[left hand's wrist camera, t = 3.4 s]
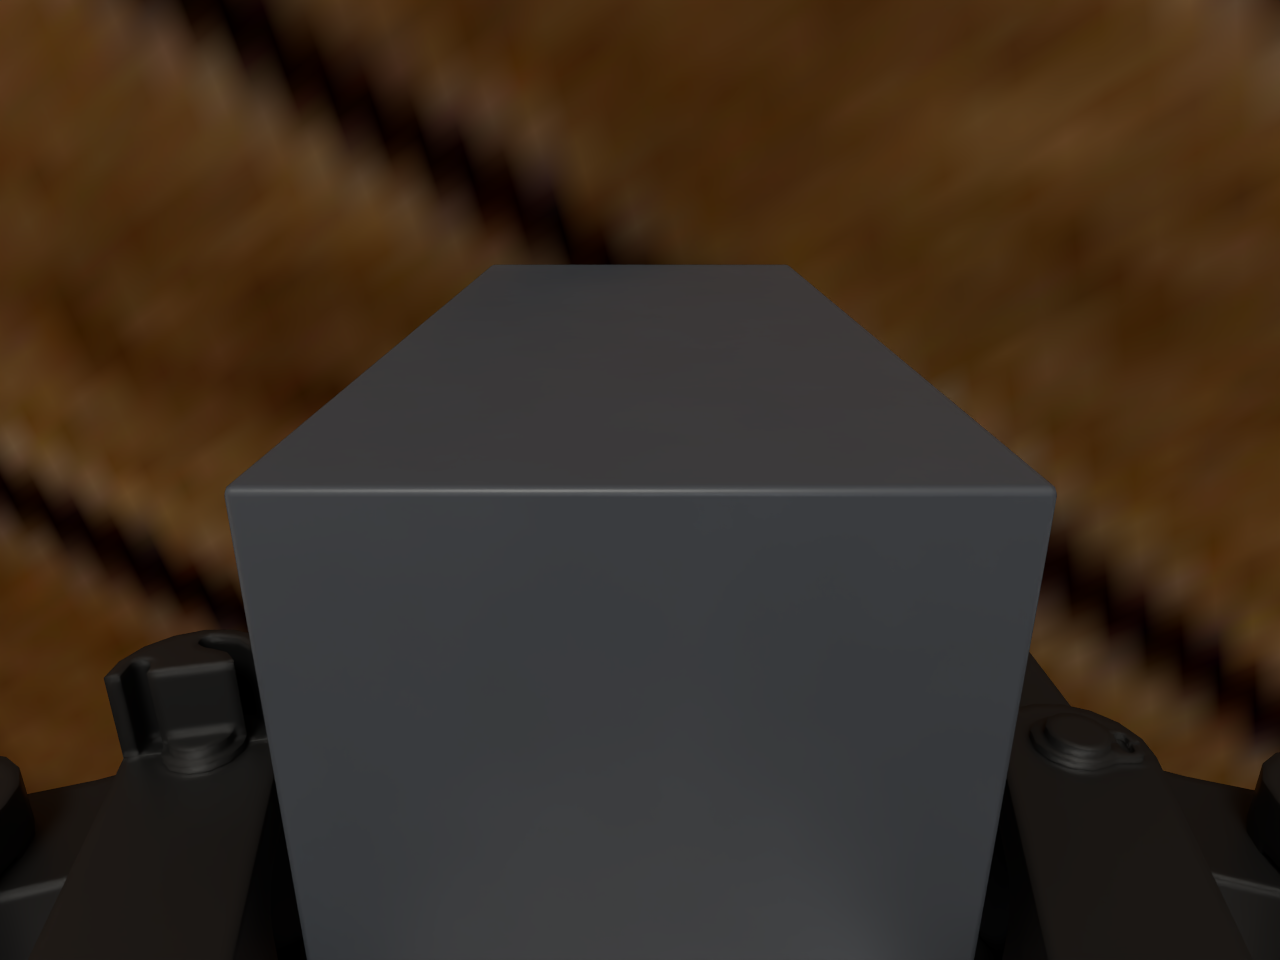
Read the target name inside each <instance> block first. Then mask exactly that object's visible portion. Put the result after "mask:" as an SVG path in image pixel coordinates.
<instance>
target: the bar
mask: <svg viewBox="0 0 1280 960" xmlns="http://www.w3.org/2000/svg"><path fill="white" fill-rule="evenodd" d="M1056 497H1057V494H1056V490H1055V487H1054V486H1053V485H1052V484H1051V483H1049V482H1048V481H1047V480H1046V479H1045V478H1043V477H1042V476H1041V475H1040V474H1038V473H1037V472H1036V471H1035V470H1034V469H1032V468H1031V467H1030V466H1029V465H1028V464H1026V463H1025V462H1024V461H1023V460H1022V459H1020V458H1019V457H1018V456H1017V455H1016V454H1014V453H1013V452H1012V451H1011V450H1010V449H1008V448H1007V447H1006V446H1005V445H1004V444H1002V443H1001V442H1000V441H999V440H998V439H996V438H995V437H994V436H993V435H992V434H990V433H989V432H988V431H987V430H986V429H984V428H983V427H982V426H981V425H980V424H978V423H977V422H976V421H975V420H974V419H972V418H971V417H970V416H969V415H967V414H966V413H965V412H964V411H963V410H961V409H960V408H959V407H958V406H957V405H955V404H954V403H953V402H952V401H951V400H949V399H948V398H947V397H946V396H945V395H943V394H942V393H941V392H940V391H939V390H937V389H936V388H935V387H934V386H933V385H931V384H930V383H929V382H928V381H927V380H925V379H924V378H923V377H922V376H921V375H919V374H918V373H917V372H916V371H915V370H913V369H912V368H911V367H910V366H909V365H907V364H906V363H905V362H904V361H903V360H901V359H900V358H899V357H898V356H897V355H895V354H894V353H893V352H892V351H890V350H889V349H888V348H887V347H886V346H884V345H883V344H882V343H881V342H880V341H878V340H877V339H876V338H875V337H874V336H872V335H871V334H870V333H869V332H868V331H866V330H865V329H864V328H863V327H862V326H860V325H859V324H858V323H857V322H856V321H854V320H853V319H852V318H851V317H850V316H848V315H847V314H846V313H845V312H844V311H842V310H841V309H840V308H839V307H838V306H836V305H835V304H834V303H833V302H832V301H830V300H829V299H828V298H827V297H826V296H824V295H823V294H822V293H821V292H819V291H818V290H817V289H816V288H815V287H813V286H812V285H811V284H810V283H809V282H807V281H806V280H805V279H804V278H803V277H801V276H800V275H799V274H798V273H797V272H795V271H794V270H793V269H792V268H791V267H789V266H788V265H493V266H491V267H490V268H489V269H487V270H486V271H485V272H484V273H483V274H481V275H480V276H479V277H478V278H477V279H475V280H474V281H473V282H472V283H471V284H469V285H468V286H467V287H466V288H465V289H463V290H462V291H461V292H460V293H459V294H457V295H456V296H455V297H454V298H453V299H451V300H450V301H449V302H448V303H447V304H445V305H444V306H443V307H442V308H441V309H439V310H438V311H437V312H436V313H435V314H433V315H432V316H431V317H430V318H429V319H427V320H426V321H425V322H424V323H423V324H421V325H420V326H419V327H418V328H417V329H415V330H414V331H413V332H412V333H411V334H409V335H408V336H407V337H406V338H405V339H403V340H402V341H401V342H400V343H399V344H397V345H396V346H395V347H394V348H393V349H391V350H390V351H389V352H388V353H387V354H385V355H384V356H383V357H382V358H381V359H379V360H378V361H377V362H376V363H375V364H373V365H372V366H371V367H370V368H369V369H367V370H366V371H365V372H364V373H363V374H361V375H360V376H359V377H358V378H357V379H355V380H354V381H353V382H352V383H351V384H349V385H348V386H347V387H346V388H345V389H343V390H342V391H341V392H340V393H339V394H337V395H336V396H335V397H334V398H333V399H331V400H330V401H329V402H328V403H327V404H325V405H324V406H323V407H322V408H321V409H319V410H318V411H317V412H316V413H315V414H313V415H312V416H311V417H310V418H309V419H307V420H306V421H305V422H304V423H303V424H301V425H300V426H299V427H298V428H297V429H295V430H294V431H293V432H292V433H291V434H289V435H288V436H287V437H286V438H285V439H283V440H282V441H281V442H280V443H279V444H277V445H276V446H275V447H274V448H273V449H271V450H270V451H269V452H268V453H267V454H265V455H264V456H263V457H262V458H261V459H259V460H258V461H257V462H256V463H255V464H253V465H252V466H251V467H250V468H249V469H247V470H246V471H245V472H244V473H243V474H241V475H240V476H239V477H238V478H237V479H235V480H234V481H233V482H232V483H231V484H229V485H228V486H227V487H226V490H225V501H226V507H227V513H228V518H229V524H230V530H231V535H232V541H233V546H234V552H235V558H236V563H237V569H238V575H239V580H240V586H241V591H242V597H243V603H244V608H245V614H246V620H247V625H248V631H249V636H250V642H251V648H252V653H253V659H254V665H255V670H256V676H257V681H258V687H259V693H260V698H261V704H262V710H263V715H264V721H265V726H266V732H267V738H268V743H269V749H270V755H271V760H272V766H273V771H274V777H275V783H276V788H277V794H278V800H279V805H280V811H281V816H282V822H283V828H284V833H285V839H286V845H287V850H288V856H289V861H290V867H291V873H292V878H293V884H294V890H295V895H296V901H297V906H298V912H299V918H300V923H301V929H302V935H303V940H304V946H305V951H306V957H307V960H974V957H975V951H976V946H977V940H978V935H979V929H980V923H981V918H982V912H983V907H984V901H985V895H986V890H987V884H988V879H989V873H990V867H991V862H992V856H993V850H994V845H995V839H996V834H997V828H998V822H999V817H1000V811H1001V806H1002V800H1003V794H1004V789H1005V783H1006V778H1007V772H1008V766H1009V761H1010V755H1011V750H1012V744H1013V738H1014V733H1015V727H1016V722H1017V716H1018V710H1019V705H1020V699H1021V693H1022V688H1023V682H1024V677H1025V671H1026V665H1027V660H1028V654H1029V649H1030V643H1031V637H1032V632H1033V626H1034V621H1035V615H1036V609H1037V604H1038V598H1039V593H1040V587H1041V581H1042V576H1043V570H1044V564H1045V559H1046V553H1047V548H1048V542H1049V536H1050V531H1051V525H1052V520H1053V514H1054V508H1055V503H1056Z"/></svg>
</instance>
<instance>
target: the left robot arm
mask: <svg viewBox="0 0 1280 960" xmlns="http://www.w3.org/2000/svg"><path fill="white" fill-rule="evenodd" d="M104 681H105V685H106V689H107V693H108V697H109V701H110V705H111V709H112V713H113V717H114V721H115V725H116V729H117V733H118V737H119V741H120V745H121V749H122V753H123V757H124V759H123V761H122V763H121V765H120V767H119V769H118V772H117V774H116V775H114V776H111V777H107V778H103V779H99V780H95V781H90V782H85V783H80V784H76V785H71V786H66V787H61V788H56V789H51V790H46V791H41V792H36V793H31V794H27V792H26V789H25V785H24V782H23V779H22V775H21V772H20V769H19V767H18V766H16V765H15V764H14V763H13V762H11V761H10V760H9V759H8V758H7V757H3V756H0V960H307V957H306V951H305V946H304V940H303V935H302V929H301V923H300V918H299V912H298V906H297V901H296V895H295V890H294V884H293V878H292V873H291V867H290V861H289V856H288V850H287V845H286V839H285V833H284V828H283V822H282V816H281V811H280V805H279V800H278V794H277V788H276V783H275V777H274V771H273V766H272V760H271V755H270V749H269V743H268V738H267V732H266V726H265V721H264V715H263V710H262V704H261V698H260V693H259V687H258V681H257V676H256V670H255V665H254V659H253V653H252V648H251V642H250V636H249V633H245V632H241V631H237V630H203V631H198V632H192V633H187V634H182V635H177V636H173V637H170V638H167V639H164V640H162V641H159V642H156V643H153V644H151V645H148V646H145V647H143V648H141V649H140V650H138V651H136V652H135V653H133V654H131V655H130V656H128V657H126V658H124V659H123V660H121V661H119V662H118V663H117V665H116V666H115V667H114V668H113V669H112V670H111V671H110V672H109V673H108V674H107V675H106V676H105V677H104ZM974 960H1280V752H1279V753H1275V754H1274V755H1273V756H1272V757H1270V758H1269V759H1268V760H1267V761H1265V762H1264V763H1263V765H1262V768H1261V771H1260V775H1259V778H1258V781H1257V784H1256V788H1255V790H1250V789H1245V788H1240V787H1235V786H1230V785H1225V784H1220V783H1215V782H1210V781H1205V780H1200V779H1195V778H1190V777H1185V776H1181V775H1178V774H1174V773H1170V772H1166V771H1163V770H1162V768H1161V766H1160V764H1159V762H1158V759H1157V757H1156V756H1155V755H1154V754H1153V752H1152V751H1151V750H1150V749H1149V747H1148V746H1147V745H1146V743H1145V742H1144V741H1143V740H1142V739H1141V738H1140V737H1138V736H1137V735H1135V734H1134V733H1133V732H1131V731H1130V730H1128V729H1127V728H1125V727H1124V726H1123V725H1121V724H1120V723H1118V722H1116V721H1113V720H1111V719H1108V718H1106V717H1104V716H1101V715H1099V714H1097V713H1094V712H1092V711H1089V710H1084V709H1080V708H1075V707H1071V706H1070V705H1069V703H1068V702H1067V701H1066V699H1065V698H1064V697H1063V696H1062V694H1061V693H1060V692H1059V690H1058V689H1057V688H1056V686H1055V685H1054V684H1053V682H1052V681H1051V680H1050V679H1049V677H1048V676H1047V675H1046V673H1045V672H1044V671H1043V669H1042V668H1041V667H1040V665H1039V664H1038V663H1037V661H1036V660H1035V659H1034V658H1033V656H1032V655H1031V654H1030V652H1029V654H1028V660H1027V665H1026V671H1025V677H1024V682H1023V688H1022V693H1021V699H1020V705H1019V710H1018V716H1017V722H1016V727H1015V733H1014V738H1013V744H1012V750H1011V755H1010V761H1009V766H1008V772H1007V778H1006V783H1005V789H1004V794H1003V800H1002V806H1001V811H1000V817H999V822H998V828H997V834H996V839H995V845H994V850H993V856H992V862H991V867H990V873H989V879H988V884H987V890H986V895H985V901H984V907H983V912H982V918H981V923H980V929H979V935H978V940H977V946H976V951H975V957H974Z"/></svg>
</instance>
